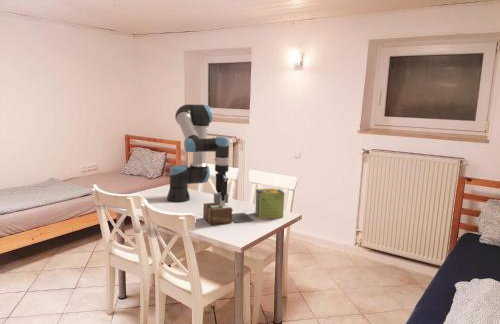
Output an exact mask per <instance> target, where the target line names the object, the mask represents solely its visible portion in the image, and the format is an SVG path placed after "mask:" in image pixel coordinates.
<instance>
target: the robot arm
mask: <svg viewBox="0 0 500 324" xmlns="http://www.w3.org/2000/svg"><path fill="white" fill-rule="evenodd" d="M212 110H213V109H212V108H211V107H210V105H208V104H187V103H186V104H183V105H181V106H180V107H179V108H177V110H176V111H175V114H174V117H175V118H174V119H175V121H176V123H177V125H179V127H180V129H181V131H182V133H183V137H184V141H183V142H184V144H183V147H184V151H185V152H187V153H192V162H191V163H190V164H189V166H188V165H187V164H177V165H173V166H171V167H170V168H169V190H168V192H167V197H166V199H167V201H168V202H172V203H184V202H187V201H190V198H191V197H190V196H191V195H190V192H189V190H188V185H194V184H205V183H207V182H208V181H209V180H210V175H211V172H210V170H211V169H210V166H208V164H207V162H206V153H207V152H208V153H209V152H213V153H215V154H214V155H215V156H214V163H215V165H214V171H215V172H217V173H215V191H216V193H221V194H220V206H225V204H226V203H225V195H227V194H228V180H229V178H228V177H227V174H226V173H228V172H229V163H230V162H229V161H230V138H229V136H223V135H221V136H216V137H211V138H207V134H208V133H207V132H208V130H207V129H208V127H209V126H210V124H211V123H212V122H213V112H212Z"/></svg>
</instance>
